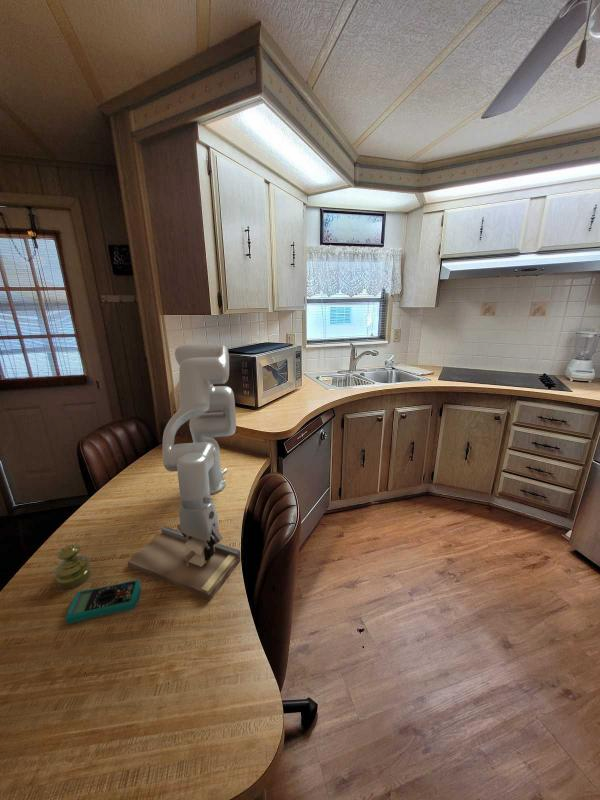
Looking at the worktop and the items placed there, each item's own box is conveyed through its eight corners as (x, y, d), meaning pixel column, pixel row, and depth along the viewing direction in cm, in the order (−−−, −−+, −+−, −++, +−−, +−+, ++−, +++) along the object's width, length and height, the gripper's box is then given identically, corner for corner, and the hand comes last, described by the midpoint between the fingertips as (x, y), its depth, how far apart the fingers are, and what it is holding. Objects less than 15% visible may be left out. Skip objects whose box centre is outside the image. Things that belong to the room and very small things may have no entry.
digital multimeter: (137, 610, 74) (135, 601, 73) (65, 626, 70) (63, 617, 69) (143, 585, 81) (141, 576, 80) (78, 599, 77) (76, 589, 76)
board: (166, 535, 98) (164, 525, 98) (240, 560, 89) (240, 550, 88) (128, 567, 86) (126, 557, 85) (210, 600, 76) (209, 589, 75)
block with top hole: (201, 546, 90) (199, 529, 89) (215, 551, 89) (213, 534, 87) (179, 569, 82) (177, 551, 81) (194, 575, 81) (192, 556, 79)
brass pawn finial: (62, 572, 84) (54, 542, 81) (94, 564, 87) (87, 534, 84) (54, 594, 78) (45, 562, 75) (88, 584, 80) (81, 553, 78)
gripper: (230, 498, 82) (234, 553, 87) (180, 484, 88) (186, 537, 93) (213, 514, 75) (218, 573, 80) (160, 498, 81) (168, 554, 86)
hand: (201, 553), depth 87 cm, fingers closed on block with top hole, 5 cm apart
